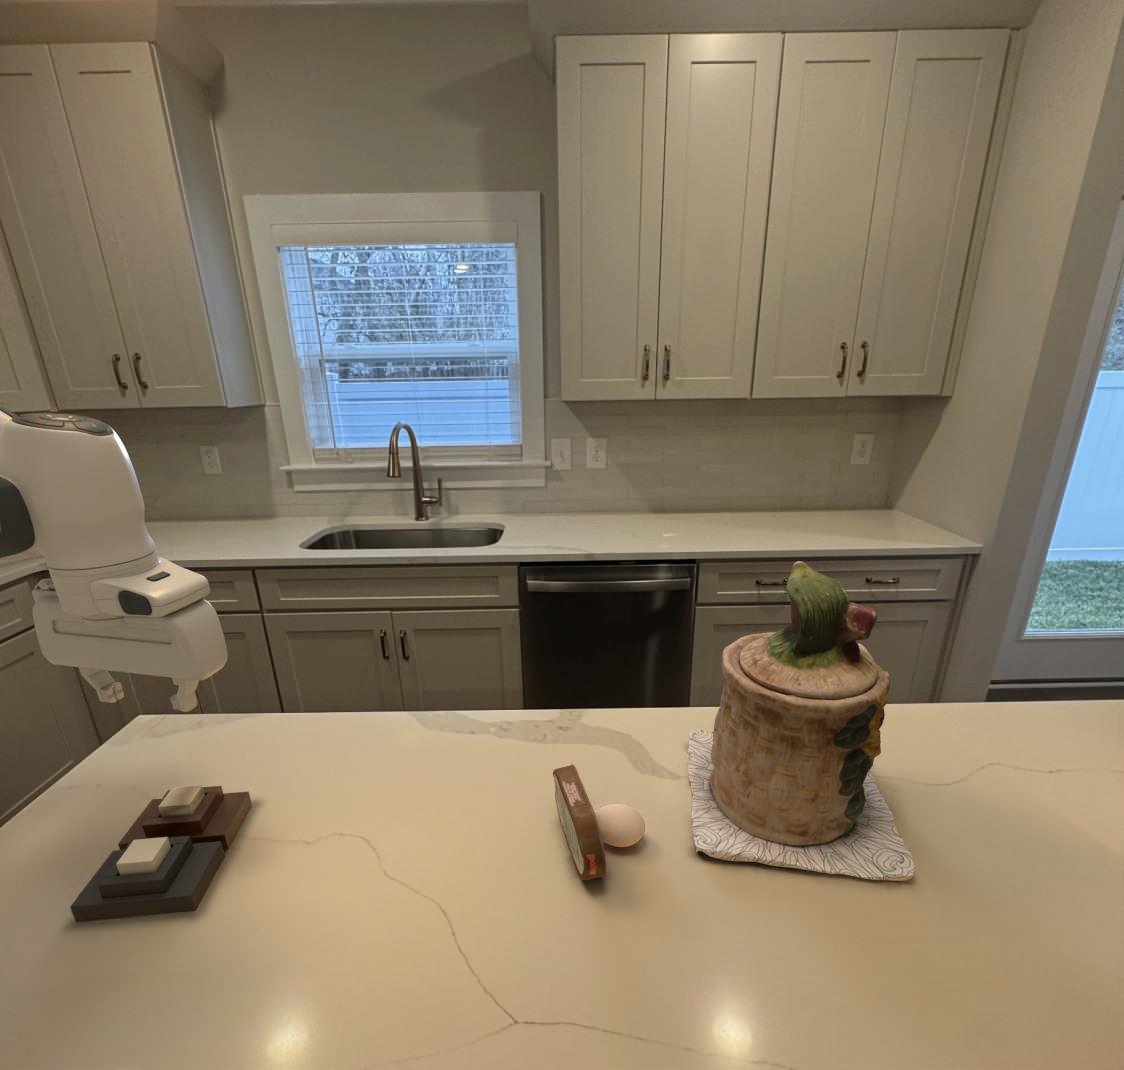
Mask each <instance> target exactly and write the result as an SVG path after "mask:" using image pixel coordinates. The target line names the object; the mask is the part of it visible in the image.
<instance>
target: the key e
mask: <svg viewBox="0 0 1124 1070" xmlns="http://www.w3.org/2000/svg"><path fill="white" fill-rule="evenodd" d="M203 787H204V786H203V785H191V786H190V785H189V786H178V787H171V789H169V790H170V792H169V793H168V794H167V796H166V797H165V798H164V800H163V801H162V802H161V804H160V805H159V806H158V808H159V811H160V814H161V817H171V816H183V815H194V813H195V812H196V810H197V809H198V807H199V805H200V804H201V802H202V801H203V799H204V798H205V794H204V790H203Z"/></svg>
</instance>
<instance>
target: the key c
mask: <svg viewBox="0 0 1124 1070" xmlns="http://www.w3.org/2000/svg"><path fill="white" fill-rule="evenodd" d="M170 850H171V846H170V843H169V840H168V837H161V838H150V839H138V840H133V842H132V843H131V844H130V846H129V847H128V848H127V850H126V851H125V853H124V854H123V855H122V857H121V858H120V859H119V861H118V862H117V863H116V865H117V868H118V871H119V873H120V876H122V875H133V874H144V873H155V872H157V870H158V869H159V867H160V866H161V864H162V862H163V861H164V859H165V858H166V856H167V855H168V853H169V852H170Z"/></svg>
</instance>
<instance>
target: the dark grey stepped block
mask: <svg viewBox="0 0 1124 1070" xmlns="http://www.w3.org/2000/svg"><path fill="white" fill-rule="evenodd" d="M168 840H169V843H170V846H171V850H170V852H169V853H168V855H167V856H166V858H165V859H164V861H163V862H162V864H161V866H160V867H159V869H158V870H157V872H155V873H144V874H133V875H122V876H120V873H119V871H118V868H117V865H116V863H117V862H118V861H119V859H120V858H121V857H122V855H123V854H124V853H125V851H126V850H127V848H128V847H129V846H130V844H131V843H132V842H133V841H130V842H129V843H128V845H127V846H126V848H125V849H124V850H120V849H118V850H112V852H110V854H109V855H108V856H107V858H106V859H105V860H104V862H103V863H102V864H101V866H100V867H99V868H98V869H97V871H96V872H95V874H94V875H93V876H92V878H91V879H90V880H89V882H88V883H86V885H85V887H84V888H83V889H82V891H81V892H80V893H79V895H77V897H76V898H75V900H74V901H73V902H72V904H70V906H69V909H70V911H71V913H72V916H73V919H74V921H75V922H76V923H83V922H93V921H95V922H96V921H102V920H103V921H104V920H105V921H106V920H115V919H123V918H134V917H143V916H145V917H146V916H155V915H164V914H166V915H167V914H175V913H185V912H195V911H196V910H197V909H198V908H199V905H200V904H201V902H202V900H203V898H204V896H205V894H206V892H207V890H208V888H209V887H210V884H211V882H212V881H213V879H214V877H215V875H216V873H217V872H218V870H219V868H220V866H221V864H222V862H223V860H224V858H225V856H226V854H225V849H223V846H222V843H221V841H217V842H206V843H195V844H192V841H191V838H190V836H182V837H170V838H168Z"/></svg>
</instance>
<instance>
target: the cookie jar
mask: <svg viewBox="0 0 1124 1070" xmlns="http://www.w3.org/2000/svg"><path fill="white" fill-rule="evenodd" d="M785 591H786V593H787V594H788V596H789V599H790V620H791V623H790V625H788V626H786V627H784V628H782V629H780V630H778V631H768V632H762V633H752V634H748V635H743V636H742V637H739V638H738V639H737V640H735V641H733V642H732V643H730V644H729V645H726V646H725V648H724V649H723V650H722V655H721V656H722V657H721V669H722V674H723V677H724V678H725V679H724V682H723V685H722V692H721V695H720V703H719V708H718V709H717V712H716V715H715V718H714V723H713V730H712V731H706V730H705V729H694V730H693V729H692V730H690V732H689V737H688V746H687V752H686V753H687V755H688V758H689V759H688V762H687V777H688V778H689V782H690V789H691V793H692V799H691V801H692V804H691V811H690V812H691V813H690V816H691V820H692V824H691V826H690V827H691V833H692V838H693V843H694V846H695V852H696V853H698V852H703V853H704V854H706V855H707V856H709V857H710V858H714V859H719V860H723V861H727V862H751V863H752V862H753V863H754V862H755V863H759V864H764V865H768V866H772V867H781V868H787V869H789V868H790V869H797V870H804V871H805V870H806V871H813V872H815V873H816V872H817V873H822V874H823V873H824V874H829V875H845V876H850V877H851V876H852V877H855V878H859V879H866V880H873V881H892V882H893V881H896V882H898V881H899V882H900V881H901V882H903V881H909V880H910V879H912V878H913V877H914V873H915V870H916V866H915V859H914V856H913V854H912V853H911V851H910V849H909V848H908V847H907V845H906V843H904V838H903V836H901V834H900V833H899V832H898V829H897V827H896V825H895V819H894V816H893V813H892V809H891V808H890V807H889V806H888V805H887V802H886V800H885V798H884V796H883V794H882V793H881V792H880V790H879V789H878V785H877V783H876V780H875V778H874V776H873V775H872V773H871V772H870V770H871V769H872V768H873V766H874V762H875V758H876V757H878V756H880V755H881V753H882V749H881V743H882V740H881V730H880V729H881V728H882V726H883V724H884V720H885V715H886V714H885V713H886V712H885V707H886V705H887V704H888V702H889V700H890V698H891V694H890V686H891V682H890V678H891V676H890V673H889V672H888V671H885V670H884V669H883V667H881V666H880V664H879V663H877V662H876V660H875V658H874V657H873V655H872V654H871V652H870V651H869V650H868V648H866V647H865V646H864V645H863V644H862V643H858V642H857V641H865V640H868V639H869V638H870V637H871V634H872V630H873V629H874V627H875V625H876V621H877V620H878V615H877V613H876V611H875V610H874V609H873V608H871V606H868V605H864V604H858V603H855V602H852V601H851V602H850V600H849V593H848V592H847V590H846V589H845V587H844V586H843V584H842V583H841V582H840V581H839V580H838V579H836V578H834V577H833V578H832V577H830V576H827V575H825V574H822V573H821V572H819V571H817V570H816V569H814V568H812V567H810V566H809V565H808V564H807V563H805V562H804V561H800V560H798V561H796V562H794V563H793V565H792V567H791V570H790V573H789V576H788V578H787V583H786V586H785Z"/></svg>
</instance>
